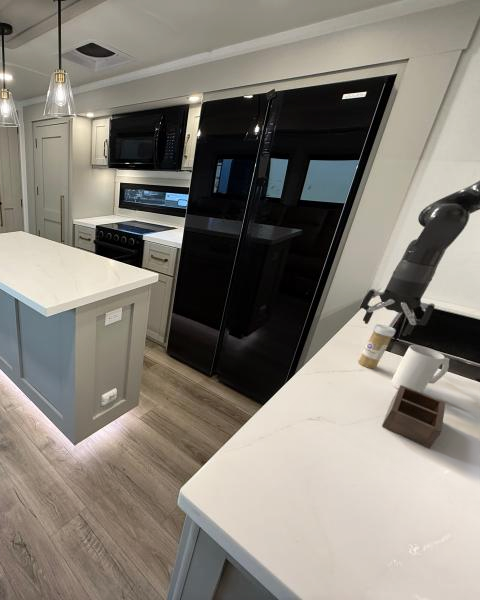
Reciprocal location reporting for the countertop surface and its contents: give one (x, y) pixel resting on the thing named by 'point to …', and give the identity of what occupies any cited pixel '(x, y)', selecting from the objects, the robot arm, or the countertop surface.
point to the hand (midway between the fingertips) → (384, 328)
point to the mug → (419, 368)
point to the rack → (415, 416)
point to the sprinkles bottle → (376, 345)
